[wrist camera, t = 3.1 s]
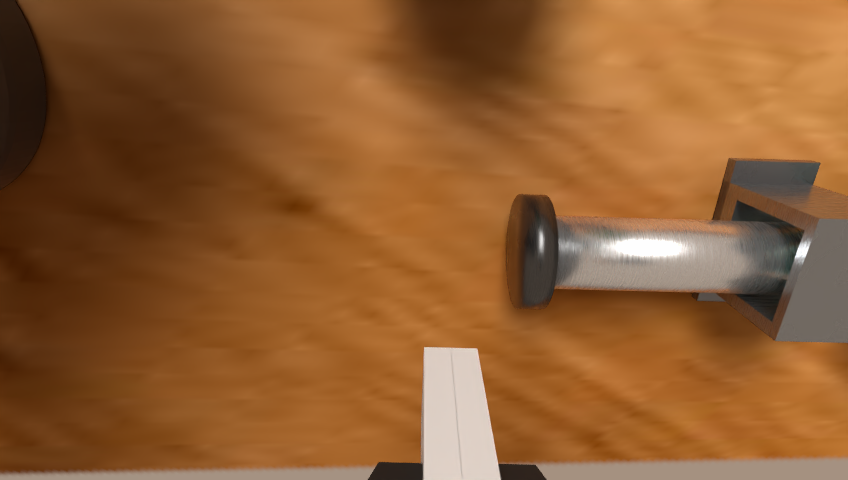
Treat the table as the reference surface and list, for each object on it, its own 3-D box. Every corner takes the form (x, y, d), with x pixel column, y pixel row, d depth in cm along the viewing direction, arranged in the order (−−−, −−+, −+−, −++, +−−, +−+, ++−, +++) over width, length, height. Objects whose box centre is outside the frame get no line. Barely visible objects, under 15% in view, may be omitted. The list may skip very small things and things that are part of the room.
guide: (691, 295, 28) (767, 362, 22) (729, 158, 25) (829, 190, 19) (765, 297, 28) (860, 364, 22) (811, 160, 25) (938, 194, 19)
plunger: (502, 277, 26) (522, 331, 21) (512, 181, 24) (536, 215, 19) (789, 284, 27) (878, 339, 21) (823, 190, 25) (930, 226, 19)
